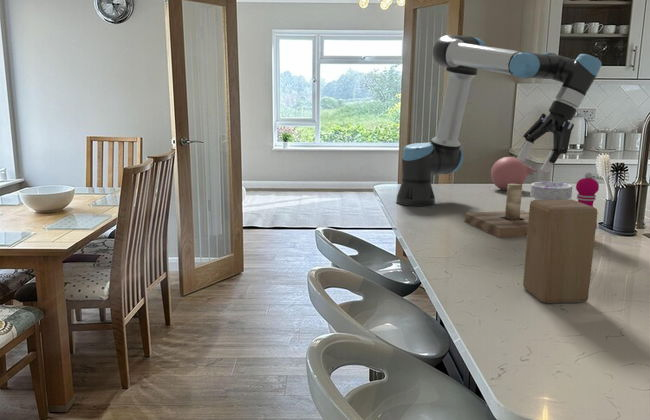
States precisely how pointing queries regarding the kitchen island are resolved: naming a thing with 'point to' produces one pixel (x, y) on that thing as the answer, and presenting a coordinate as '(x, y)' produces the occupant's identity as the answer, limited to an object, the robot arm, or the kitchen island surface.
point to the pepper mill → (587, 190)
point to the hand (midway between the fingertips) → (531, 165)
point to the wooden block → (559, 250)
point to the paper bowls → (551, 190)
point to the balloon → (510, 172)
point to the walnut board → (499, 223)
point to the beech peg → (513, 202)
